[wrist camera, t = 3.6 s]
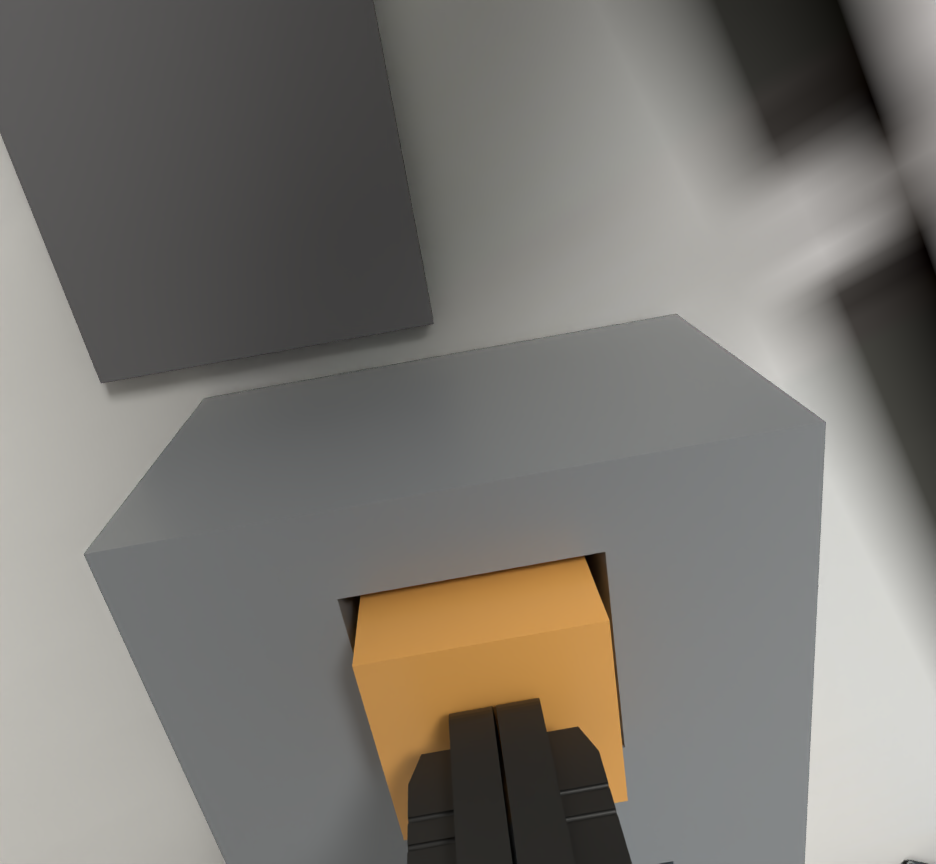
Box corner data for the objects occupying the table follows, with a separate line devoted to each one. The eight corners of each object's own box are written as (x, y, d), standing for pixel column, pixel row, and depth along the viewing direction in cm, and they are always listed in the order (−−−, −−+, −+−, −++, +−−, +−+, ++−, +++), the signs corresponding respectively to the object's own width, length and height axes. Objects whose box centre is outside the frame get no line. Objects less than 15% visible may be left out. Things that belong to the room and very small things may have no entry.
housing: (204, 398, 18) (83, 554, 11) (676, 313, 18) (825, 421, 11) (363, 866, 25) (345, 1122, 19) (698, 807, 25) (796, 1043, 18)
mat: (-37, -1, 14) (-56, -6, 13) (359, -73, 14) (356, -81, 13) (110, 375, 17) (101, 383, 17) (432, 317, 17) (433, 323, 17)
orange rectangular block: (370, 504, 15) (351, 666, 11) (551, 473, 15) (609, 621, 11) (407, 647, 17) (403, 840, 12) (570, 618, 17) (627, 801, 12)
